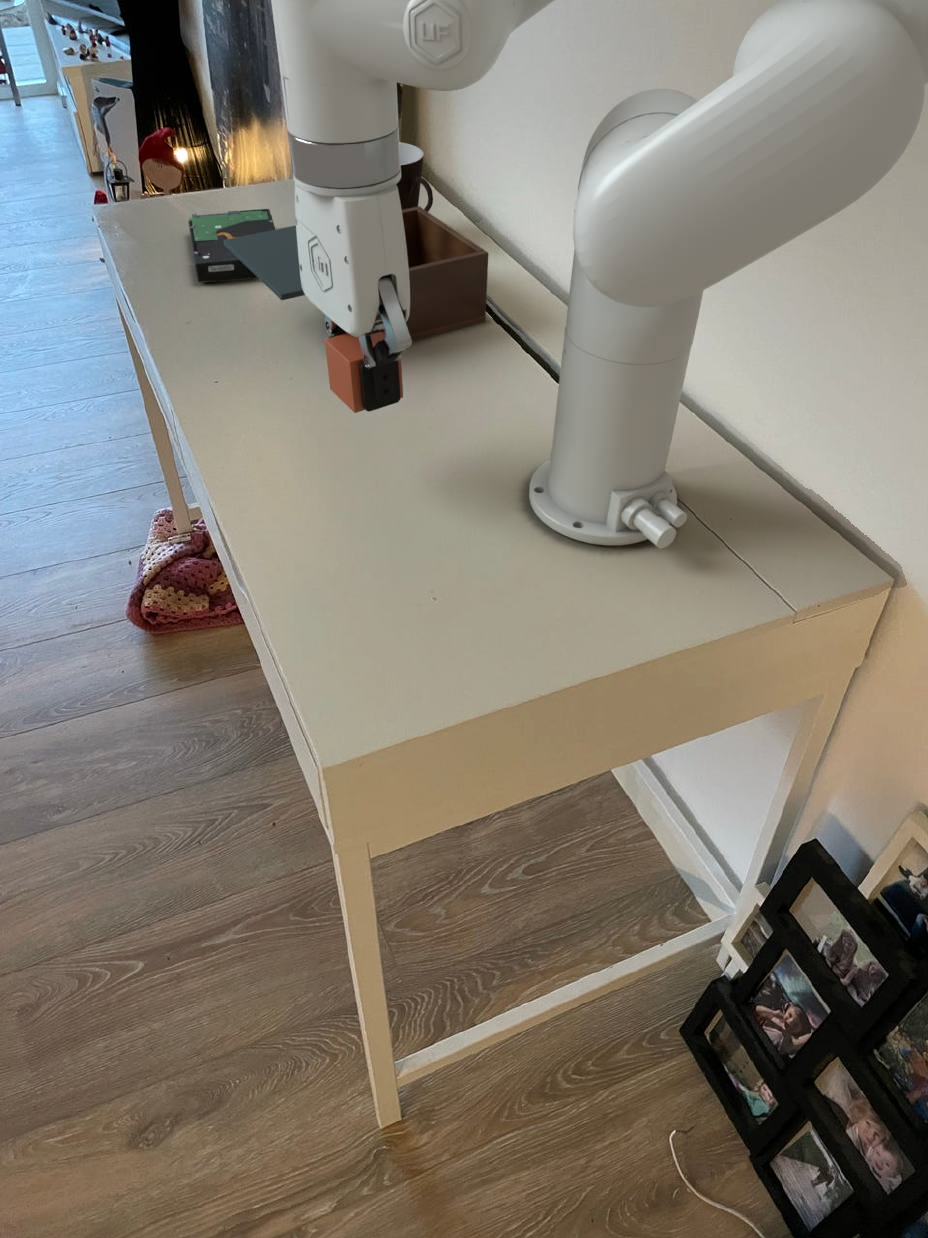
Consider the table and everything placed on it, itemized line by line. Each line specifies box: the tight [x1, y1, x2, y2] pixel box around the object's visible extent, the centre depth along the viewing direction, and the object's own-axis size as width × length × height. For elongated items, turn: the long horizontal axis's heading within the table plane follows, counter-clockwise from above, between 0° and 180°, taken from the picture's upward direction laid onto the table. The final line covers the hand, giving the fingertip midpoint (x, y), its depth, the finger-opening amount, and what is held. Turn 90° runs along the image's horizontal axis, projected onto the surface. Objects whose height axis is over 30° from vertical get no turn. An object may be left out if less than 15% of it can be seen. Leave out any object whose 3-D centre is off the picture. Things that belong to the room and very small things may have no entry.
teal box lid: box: [224, 224, 306, 301], centre depth 96 cm, size 15×13×3 cm
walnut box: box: [375, 205, 489, 342], centre depth 104 cm, size 15×13×8 cm
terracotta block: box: [324, 332, 404, 414], centre depth 76 cm, size 4×4×4 cm
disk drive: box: [188, 208, 276, 283], centre depth 114 cm, size 10×3×15 cm
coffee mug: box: [396, 141, 434, 213], centre depth 116 cm, size 12×9×10 cm
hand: (366, 389), depth 77 cm, fingers closed on terracotta block, 4 cm apart
